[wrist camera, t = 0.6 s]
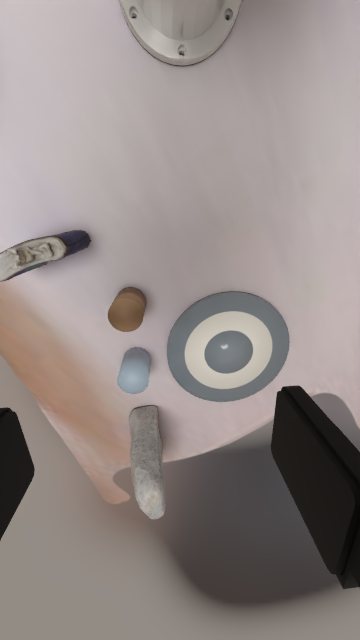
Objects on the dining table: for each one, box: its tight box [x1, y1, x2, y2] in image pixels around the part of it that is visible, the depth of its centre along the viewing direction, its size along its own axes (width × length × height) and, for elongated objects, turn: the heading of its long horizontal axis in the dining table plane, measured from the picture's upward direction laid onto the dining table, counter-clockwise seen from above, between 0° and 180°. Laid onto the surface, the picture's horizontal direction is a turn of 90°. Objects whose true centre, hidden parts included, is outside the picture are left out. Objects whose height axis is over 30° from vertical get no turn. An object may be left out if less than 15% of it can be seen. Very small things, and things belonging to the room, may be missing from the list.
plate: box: [167, 292, 289, 402], centre depth 41 cm, size 20×20×1 cm
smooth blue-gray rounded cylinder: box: [117, 347, 150, 394], centre depth 38 cm, size 4×4×6 cm
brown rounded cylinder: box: [108, 287, 146, 332], centre depth 34 cm, size 4×4×6 cm
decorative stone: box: [129, 406, 166, 519], centre depth 40 cm, size 11×6×15 cm, turn 7°
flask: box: [0, 230, 91, 281], centre depth 28 cm, size 9×3×11 cm, turn 110°
